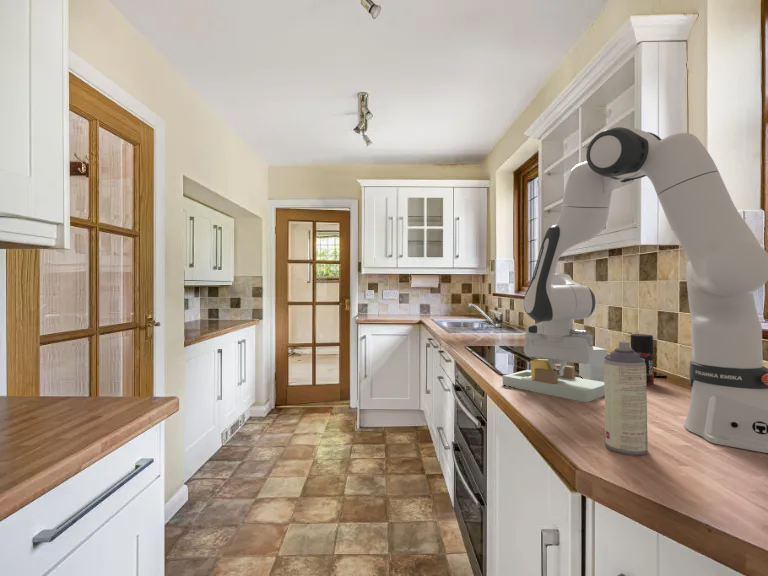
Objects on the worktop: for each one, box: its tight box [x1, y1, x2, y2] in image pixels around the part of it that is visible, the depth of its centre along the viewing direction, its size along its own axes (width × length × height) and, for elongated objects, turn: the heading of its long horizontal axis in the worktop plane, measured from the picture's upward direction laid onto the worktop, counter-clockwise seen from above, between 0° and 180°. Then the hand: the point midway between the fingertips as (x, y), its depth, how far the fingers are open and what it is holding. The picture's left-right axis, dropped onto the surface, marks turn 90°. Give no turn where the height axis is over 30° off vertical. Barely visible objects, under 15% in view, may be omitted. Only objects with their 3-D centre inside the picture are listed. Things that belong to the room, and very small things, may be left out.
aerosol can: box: [604, 341, 649, 457], centre depth 76 cm, size 7×7×20 cm
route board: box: [502, 363, 605, 404], centre depth 121 cm, size 26×14×6 cm, turn 38°
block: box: [529, 358, 552, 378], centre depth 124 cm, size 5×5×5 cm
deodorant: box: [630, 333, 655, 386], centre depth 127 cm, size 6×6×15 cm
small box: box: [578, 345, 608, 382], centre depth 132 cm, size 8×6×10 cm
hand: (557, 375), depth 120 cm, fingers closed
